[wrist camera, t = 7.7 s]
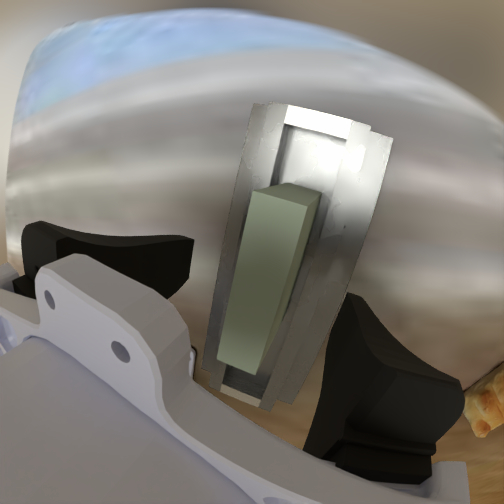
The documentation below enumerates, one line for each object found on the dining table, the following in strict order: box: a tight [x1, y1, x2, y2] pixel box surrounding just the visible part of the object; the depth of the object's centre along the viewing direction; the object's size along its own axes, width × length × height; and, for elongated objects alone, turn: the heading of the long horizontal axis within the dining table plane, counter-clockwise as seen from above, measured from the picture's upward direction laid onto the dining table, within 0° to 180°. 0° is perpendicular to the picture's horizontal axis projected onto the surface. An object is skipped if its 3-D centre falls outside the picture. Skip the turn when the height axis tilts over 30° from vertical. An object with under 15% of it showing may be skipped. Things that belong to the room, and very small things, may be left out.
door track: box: [202, 102, 393, 412], centre depth 17 cm, size 20×8×2 cm, turn 167°
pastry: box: [463, 362, 504, 437], centre depth 12 cm, size 9×7×4 cm
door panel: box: [217, 183, 322, 375], centre depth 14 cm, size 8×2×6 cm, turn 167°
